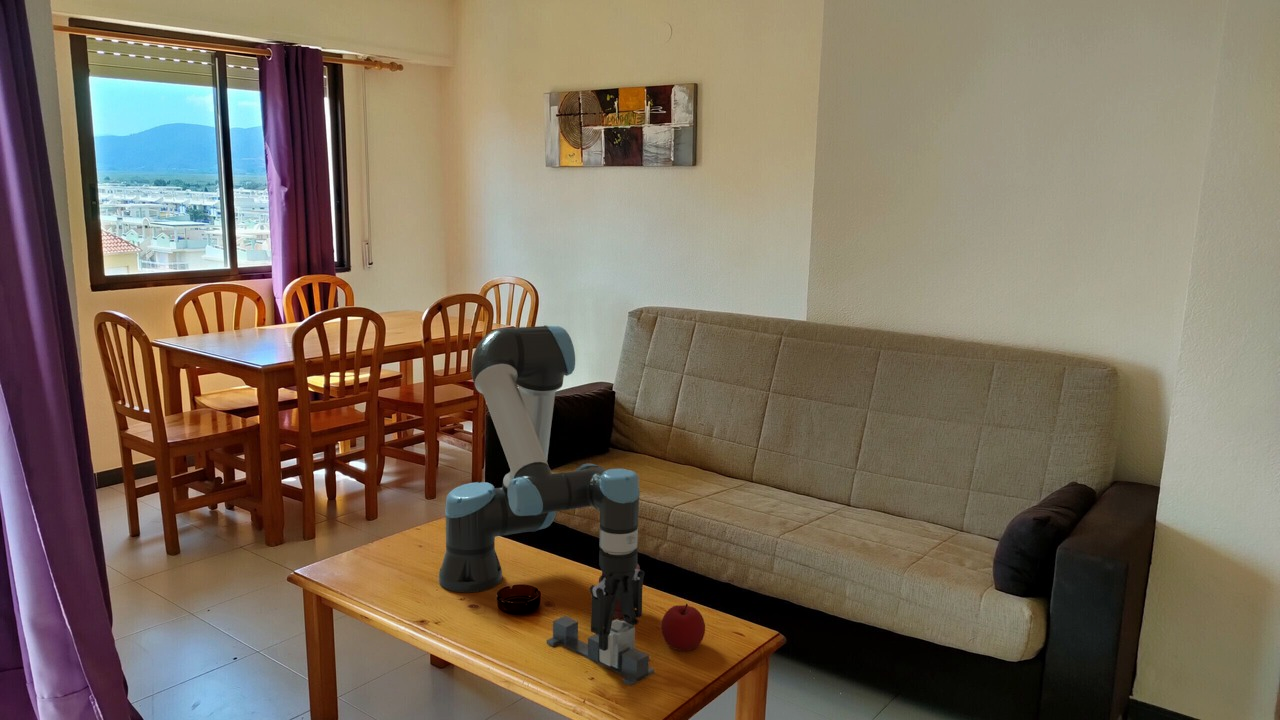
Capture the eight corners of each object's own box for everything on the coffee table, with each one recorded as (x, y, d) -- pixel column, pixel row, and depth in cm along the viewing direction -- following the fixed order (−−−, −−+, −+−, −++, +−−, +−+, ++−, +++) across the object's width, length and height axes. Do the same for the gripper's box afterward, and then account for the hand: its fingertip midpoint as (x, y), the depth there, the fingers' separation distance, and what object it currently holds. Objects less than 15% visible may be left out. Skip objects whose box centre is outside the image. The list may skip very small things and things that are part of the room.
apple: (702, 636, 196) (704, 593, 194) (706, 657, 187) (708, 612, 185) (659, 635, 196) (661, 592, 194) (661, 656, 187) (663, 611, 185)
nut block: (599, 659, 182) (599, 625, 180) (616, 651, 185) (616, 617, 184) (617, 668, 178) (617, 633, 177) (634, 659, 182) (634, 625, 181)
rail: (546, 643, 191) (546, 623, 190) (570, 632, 196) (571, 613, 195) (630, 686, 175) (630, 664, 174) (654, 672, 180) (654, 651, 179)
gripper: (599, 566, 169) (597, 681, 173) (662, 541, 182) (659, 649, 186) (572, 555, 174) (570, 667, 178) (635, 531, 187) (632, 636, 191)
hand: (616, 657), depth 182 cm, fingers closed on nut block, 5 cm apart
